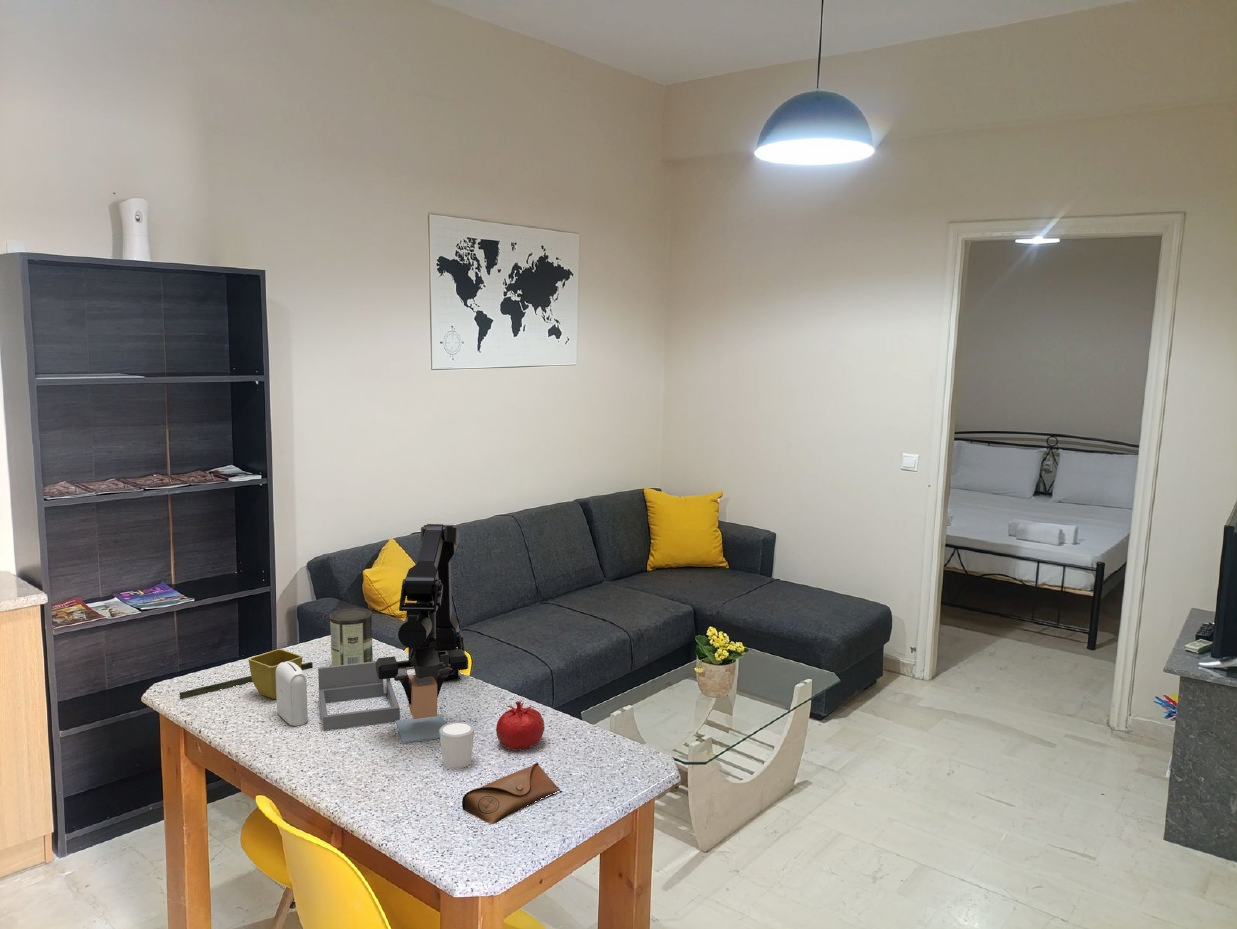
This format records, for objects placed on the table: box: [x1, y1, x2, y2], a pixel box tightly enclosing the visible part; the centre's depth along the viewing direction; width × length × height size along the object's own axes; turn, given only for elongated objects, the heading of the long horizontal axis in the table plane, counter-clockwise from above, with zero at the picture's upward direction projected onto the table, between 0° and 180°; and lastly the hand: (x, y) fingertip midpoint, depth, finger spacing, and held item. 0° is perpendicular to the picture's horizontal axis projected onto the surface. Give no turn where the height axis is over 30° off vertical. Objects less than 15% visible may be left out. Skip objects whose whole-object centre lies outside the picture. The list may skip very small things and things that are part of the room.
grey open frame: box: [317, 660, 401, 732], centre depth 198 cm, size 16×17×8 cm
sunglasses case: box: [461, 762, 560, 826], centre depth 162 cm, size 18×7×7 cm, turn 137°
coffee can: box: [329, 607, 374, 666], centre depth 223 cm, size 10×10×14 cm
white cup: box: [439, 721, 475, 769], centre depth 175 cm, size 7×7×7 cm
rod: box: [179, 661, 313, 700], centre depth 213 cm, size 31×1×2 cm, turn 133°
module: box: [407, 674, 438, 719], centre depth 189 cm, size 5×7×7 cm
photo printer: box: [276, 661, 309, 727], centre depth 193 cm, size 10×4×12 cm, turn 39°
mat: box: [395, 713, 447, 744], centre depth 190 cm, size 10×11×1 cm
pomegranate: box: [495, 701, 545, 751], centre depth 184 cm, size 10×10×9 cm
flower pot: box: [247, 648, 303, 700], centre depth 206 cm, size 9×9×9 cm
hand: (422, 702), depth 189 cm, fingers closed on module, 5 cm apart
